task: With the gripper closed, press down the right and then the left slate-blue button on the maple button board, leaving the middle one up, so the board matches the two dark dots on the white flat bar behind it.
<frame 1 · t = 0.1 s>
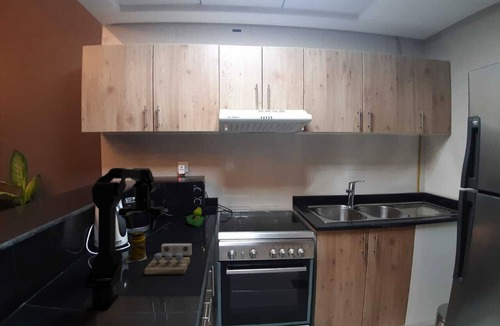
hand: (142, 229, 99), 15 cm above the counter, fingers open, 9 cm apart
white flat bar: (176, 254, 106), on the counter
fruit basket: (195, 224, 152), on the counter
button mid: (168, 259, 94), point 4 cm above the counter, slide at 0.0 cm
board: (168, 267, 94), on the counter
condiment: (136, 258, 102), on the counter
button left: (158, 259, 94), point 4 cm above the counter, slide at 0.0 cm
button right: (179, 259, 94), point 4 cm above the counter, slide at 0.0 cm
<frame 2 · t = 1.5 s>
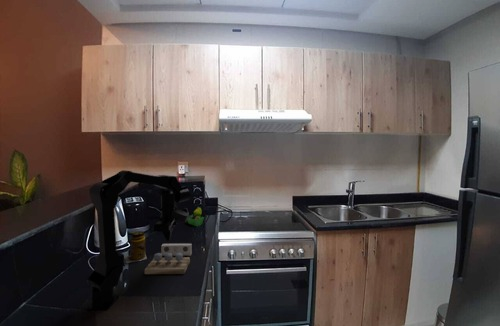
hand: (168, 240, 93), 12 cm above the counter, fingers closed
nothing on the counter moved.
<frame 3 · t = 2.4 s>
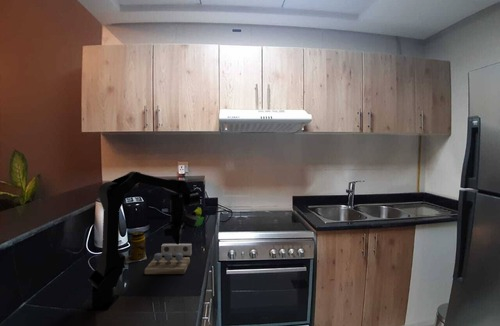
hand: (177, 243, 94), 10 cm above the counter, fingers closed
nothing on the counter moved.
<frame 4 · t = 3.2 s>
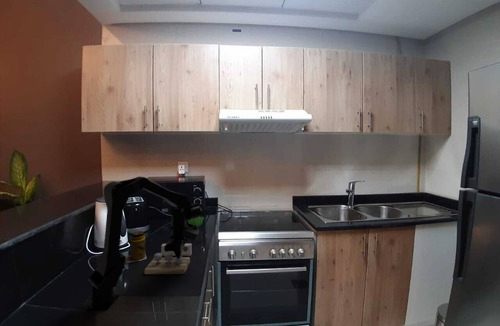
hand: (178, 258, 94), 4 cm above the counter, fingers closed, pressing on button right
button right: (179, 262, 94), point 2 cm above the counter, slide at 1.6 cm, touching gripper
everything else where it was.
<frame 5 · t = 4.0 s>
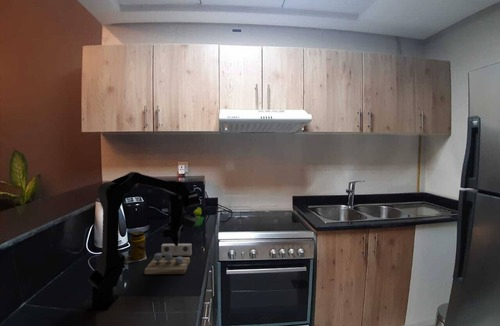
hand: (176, 245, 94), 10 cm above the counter, fingers closed
button right: (179, 262, 94), point 2 cm above the counter, slide at 1.6 cm
everything else where it was.
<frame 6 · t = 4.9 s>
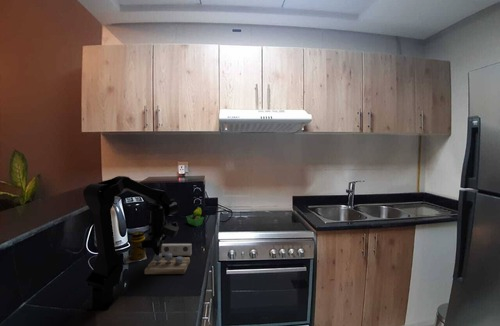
hand: (157, 254, 93), 6 cm above the counter, fingers closed, pressing on button left
button left: (158, 259, 94), point 4 cm above the counter, slide at 0.1 cm, touching gripper
everything else where it was.
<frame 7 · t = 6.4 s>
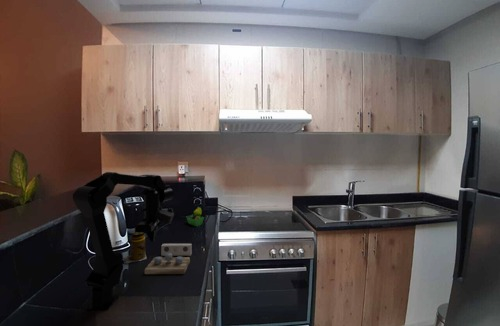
hand: (152, 241, 91), 12 cm above the counter, fingers closed
button left: (158, 262, 94), point 2 cm above the counter, slide at 1.6 cm
everything else where it was.
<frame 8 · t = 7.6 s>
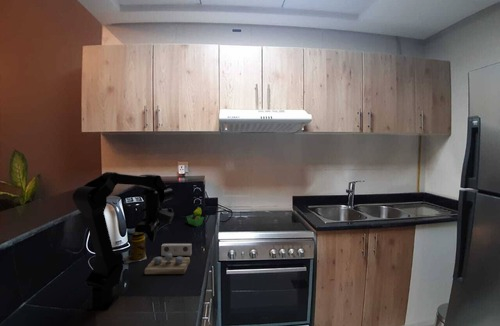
hand: (152, 241, 91), 12 cm above the counter, fingers closed
nothing on the counter moved.
at the end: button right slide at 1.6 cm; button left slide at 1.6 cm; button mid slide at 0.0 cm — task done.
